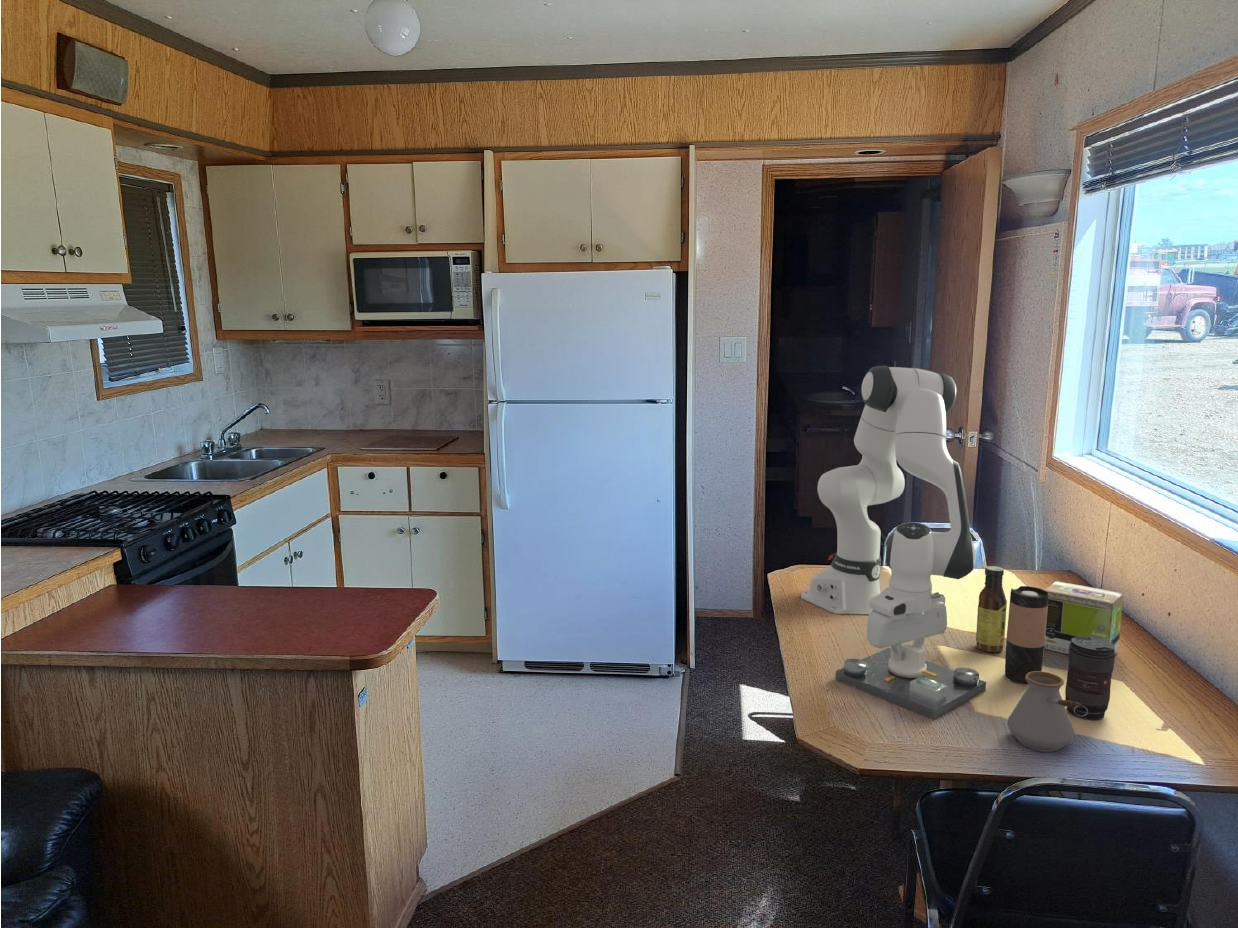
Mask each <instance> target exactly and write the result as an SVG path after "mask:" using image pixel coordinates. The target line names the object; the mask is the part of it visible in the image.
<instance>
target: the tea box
mask: <svg viewBox="0 0 1238 928" xmlns="http://www.w3.org/2000/svg"><path fill="white" fill-rule="evenodd" d="M1044 590H1045V591H1046V592H1048V594H1049V598H1048V611H1047V624H1046V636H1045V647H1044V650H1049V651H1052V652H1053V651H1054V652H1058V653H1061V654H1065V655H1066V654H1067V655H1068V654H1069V645H1070V643H1071V639H1072V638H1074V637H1079V636H1086V637H1095V638H1099V639H1103V640H1106V641H1108V642H1110V643H1112V644H1113V645H1114V647H1115V649H1114V650H1115V655H1116V654H1117V653H1118V651H1119V644H1120V635H1121V623H1122V614H1123V613H1122V611H1123V603H1124V602H1123V600H1124V593H1123V592H1118V591H1115V590H1114V591H1112V590H1108V589H1103V588H1096V587H1091V586H1086V585H1080V584H1075V583H1074V584H1073V583H1068V582H1063V581H1058V580H1055V581H1054V582H1053V583H1052V584H1050V585H1049V586H1047V587H1046V588H1044Z"/></svg>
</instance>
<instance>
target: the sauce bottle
mask: <svg viewBox="0 0 1238 928" xmlns="http://www.w3.org/2000/svg"><path fill="white" fill-rule="evenodd" d="M1004 572H1005V570H1004V568H1003V567H999V566H997V565H994V566H993V565H990V566H989V565H988V566H985V568H984V575H985V578H984V579H985V581H984V587H983V588H982V589H981V591H980V592H979V596H978V604H977V617H976V636H975V641H976V648H978V650H980V651H983V652H986V653H999V652H1003V649H1004V645H1005V640H1006V639H1005V638H1006V637H1005V636H1006V620H1007V609H1008V608H1007V607H1008V606H1007V604H1008V599H1007V598H1006V594H1005V591H1004V587H1003V578H1004V577H1003V576H1004V575H1005V573H1004Z"/></svg>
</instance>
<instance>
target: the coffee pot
mask: <svg viewBox="0 0 1238 928" xmlns="http://www.w3.org/2000/svg"><path fill="white" fill-rule="evenodd" d="M1025 680H1026V681H1027V683H1028V685H1027V688H1026V689H1025V691H1024V693H1022V696H1021V698H1020V699H1019V701H1018V702H1017V704H1016V705H1015V707H1014V709H1013V710H1012V712H1011V713H1010V715H1008V718H1007V720H1006V721H1007V727H1008V729H1009V731H1010V733H1011V734H1012V735H1013V737H1014V738H1015V739H1016V740H1017V741H1018V742H1019V743H1020V744H1022V745H1023V746H1025V747H1026V748H1029V749H1032V750H1035V751H1040V752H1047V753H1049V752H1057V751H1059V750H1061V749H1062V748H1064V747H1066V746H1068V745H1069V744H1070V743H1071V742H1072V740H1073V739H1074V738H1075V729H1074V727H1073V724H1072V721H1071V719H1070V716H1069V714H1068V713H1069V712H1068V710H1067V707H1069V708H1071V707H1073V708H1074V713H1075V709H1077V708H1082V707H1084V706H1083V705H1082V704H1080V703H1078V702H1076V701H1074V702H1073V701H1071V700H1065V699H1063V697H1062V695H1061V692H1060V689H1061V687H1062V686H1064V685H1065V681H1064V679H1063V678H1062V677H1061V676H1059V675H1057V674H1055V673H1053V672H1048V671H1032V672H1029V673H1027V674H1026V676H1025ZM1085 708H1086V707H1085ZM1086 710H1087V708H1086ZM1087 713H1088V710H1087ZM1087 713H1086V714H1085V715H1087ZM1075 714H1076V713H1075ZM1076 715H1077V714H1076ZM1085 715H1083V716H1085ZM1077 716H1079V715H1077ZM1081 717H1082V716H1081Z"/></svg>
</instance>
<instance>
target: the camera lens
mask: <svg viewBox="0 0 1238 928" xmlns="http://www.w3.org/2000/svg"><path fill="white" fill-rule="evenodd" d="M1114 649H1115V647H1114V645H1113V644H1112V643H1110V642H1108V641H1106V640H1103V639H1099V638H1095V637H1086V636H1079V637H1074V638H1072V639H1071V643H1070V645H1069V654H1067V655H1068V656H1067V665H1068V666H1067V675H1066V682H1065V692H1064V694H1065V696H1064V697H1065V699H1064V700H1071V701H1073V702H1074V701H1076V702H1078V703H1080V704H1082V705H1083V706H1084V707H1082V708H1077V709H1075V713H1076V714H1077V715H1079V716H1077V715H1076V714H1075V713H1074V708H1073V707H1071V708H1069V707H1066V711H1067V713H1069V714H1070V715H1072V716H1074V717H1076V718H1079V719H1083V720H1086V721H1087V720H1088V721H1097V720H1098V721H1099V720H1102V719H1103V718H1105V714H1106V712H1107V710H1108V709H1109V704H1110V699H1111V685H1112V677H1113V673H1114V672H1113V671H1114V667H1115V658H1116V654H1115V650H1114ZM1085 707H1086V708H1087V710H1088V713H1087V710H1086V708H1085ZM1086 713H1087V715H1085V714H1086ZM1083 715H1085V716H1083ZM1081 716H1082V717H1081Z"/></svg>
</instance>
